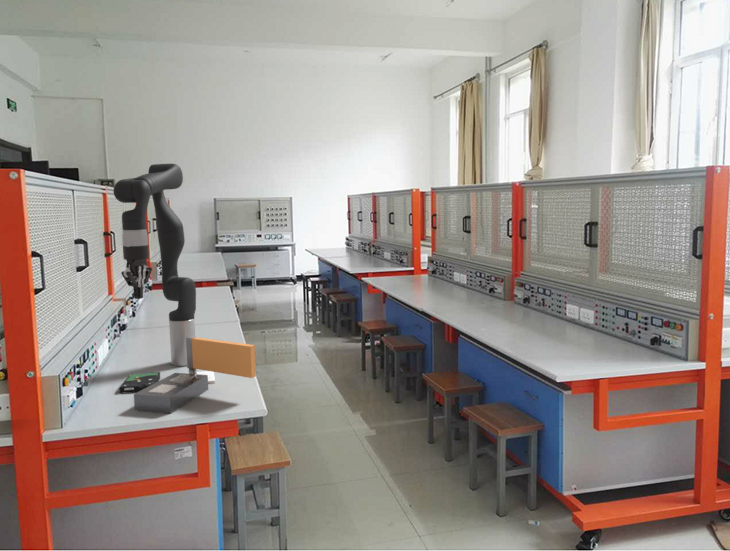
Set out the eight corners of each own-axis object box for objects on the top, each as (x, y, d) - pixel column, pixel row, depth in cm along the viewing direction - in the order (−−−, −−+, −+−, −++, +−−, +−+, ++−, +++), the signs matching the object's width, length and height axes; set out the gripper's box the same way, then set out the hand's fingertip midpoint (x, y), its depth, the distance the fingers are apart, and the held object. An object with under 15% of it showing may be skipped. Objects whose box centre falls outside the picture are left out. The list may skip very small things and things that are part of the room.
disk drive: (153, 393, 189) (160, 378, 203) (152, 384, 189) (160, 371, 203) (119, 395, 187) (129, 380, 201) (119, 387, 187) (129, 373, 201)
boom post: (192, 386, 193) (191, 367, 193) (198, 386, 193) (197, 367, 192) (188, 388, 191) (187, 369, 190) (194, 388, 191) (193, 369, 190)
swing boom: (185, 367, 190) (183, 338, 189) (192, 365, 193) (190, 336, 192) (250, 378, 178) (249, 347, 177) (257, 375, 181) (255, 344, 180)
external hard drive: (213, 374, 208) (215, 384, 197) (190, 376, 206) (190, 387, 194) (213, 370, 208) (214, 380, 196) (189, 372, 206) (189, 382, 194)
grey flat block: (175, 387, 192) (174, 371, 192) (208, 389, 190) (207, 373, 189) (134, 410, 171) (133, 392, 171) (170, 413, 168) (169, 395, 168)
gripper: (138, 242, 188) (141, 295, 191) (111, 245, 176) (115, 301, 178) (158, 242, 187) (161, 295, 189) (132, 245, 174) (136, 302, 176)
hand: (138, 298), depth 183 cm, fingers closed
